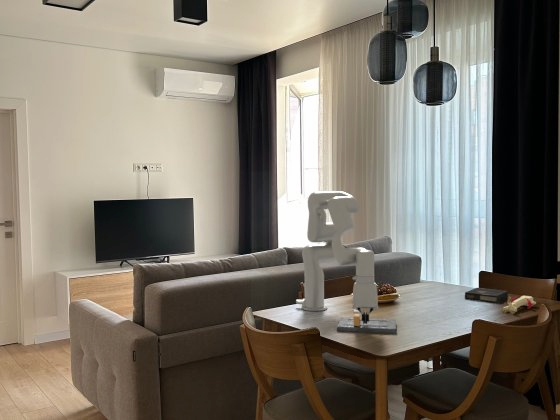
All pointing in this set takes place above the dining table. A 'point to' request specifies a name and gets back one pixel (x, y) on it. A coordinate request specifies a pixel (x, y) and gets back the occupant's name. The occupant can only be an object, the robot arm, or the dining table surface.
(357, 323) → the orange fader
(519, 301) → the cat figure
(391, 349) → the dining table surface
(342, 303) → the dining table surface
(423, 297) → the dining table surface
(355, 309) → the cream fader
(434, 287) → the dining table surface
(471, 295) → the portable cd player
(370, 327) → the console
